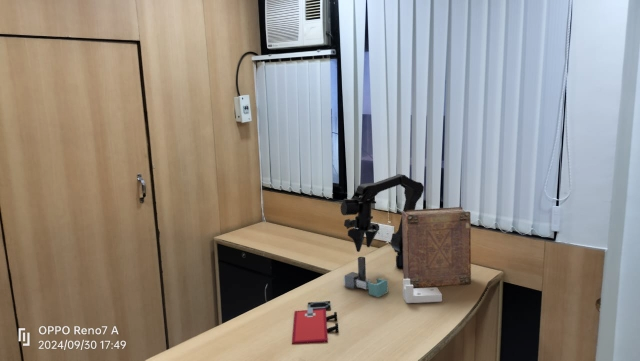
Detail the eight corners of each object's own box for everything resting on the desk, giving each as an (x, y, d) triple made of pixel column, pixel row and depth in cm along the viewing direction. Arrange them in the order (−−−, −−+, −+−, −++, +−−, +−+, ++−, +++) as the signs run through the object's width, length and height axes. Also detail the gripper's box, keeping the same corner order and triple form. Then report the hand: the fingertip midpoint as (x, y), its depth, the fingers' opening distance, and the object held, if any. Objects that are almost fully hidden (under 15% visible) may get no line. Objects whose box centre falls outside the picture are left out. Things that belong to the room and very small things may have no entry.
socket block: (368, 294, 184) (368, 282, 183) (378, 289, 189) (378, 277, 188) (378, 297, 181) (378, 284, 180) (387, 292, 186) (387, 279, 185)
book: (462, 276, 199) (462, 206, 194) (470, 284, 190) (471, 211, 185) (403, 280, 197) (401, 210, 193) (408, 288, 188) (407, 215, 184)
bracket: (406, 305, 173) (406, 285, 172) (403, 297, 180) (402, 278, 179) (441, 303, 173) (441, 284, 172) (437, 296, 180) (436, 277, 179)
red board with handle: (335, 302, 178) (295, 305, 178) (334, 295, 178) (295, 298, 178) (339, 343, 149) (292, 346, 149) (339, 335, 148) (291, 338, 148)
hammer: (343, 283, 195) (342, 255, 193) (348, 281, 197) (347, 253, 195) (366, 289, 187) (365, 260, 185) (370, 287, 189) (369, 258, 187)
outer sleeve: (345, 287, 193) (344, 275, 192) (352, 283, 197) (352, 271, 196) (353, 289, 190) (353, 277, 189) (361, 285, 194) (360, 274, 193)
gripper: (358, 208, 214) (357, 242, 216) (337, 214, 198) (336, 251, 200) (380, 211, 208) (379, 246, 210) (360, 218, 192) (359, 255, 194)
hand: (363, 249), depth 204 cm, fingers open, 9 cm apart
